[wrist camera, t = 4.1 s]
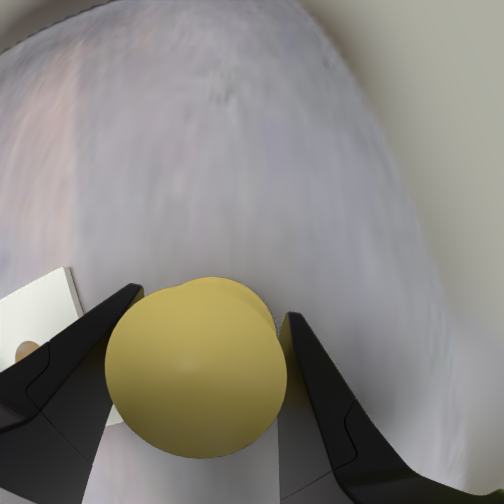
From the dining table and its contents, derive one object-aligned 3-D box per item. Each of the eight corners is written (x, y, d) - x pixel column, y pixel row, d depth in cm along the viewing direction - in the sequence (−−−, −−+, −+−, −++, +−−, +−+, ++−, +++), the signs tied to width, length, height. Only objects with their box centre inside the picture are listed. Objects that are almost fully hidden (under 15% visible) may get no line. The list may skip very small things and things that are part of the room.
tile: (128, 417, 14) (123, 421, 13) (26, 440, 12) (19, 443, 12) (69, 268, 15) (62, 266, 14) (-20, 316, 14) (-27, 315, 13)
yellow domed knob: (286, 362, 15) (370, 430, 5) (188, 402, 14) (140, 513, 4) (242, 265, 16) (266, 192, 6) (145, 306, 15) (33, 294, 5)
